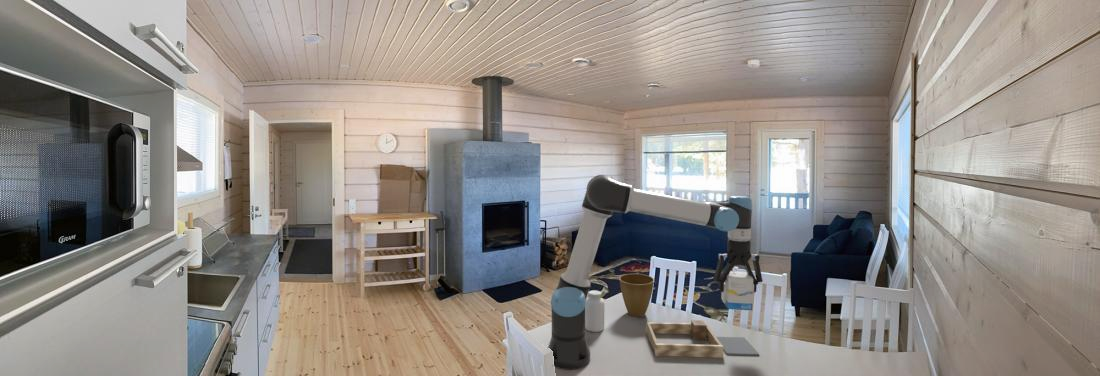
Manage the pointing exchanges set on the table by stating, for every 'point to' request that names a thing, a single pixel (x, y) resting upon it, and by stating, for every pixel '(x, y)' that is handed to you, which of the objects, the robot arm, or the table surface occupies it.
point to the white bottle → (594, 312)
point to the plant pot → (636, 293)
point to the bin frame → (682, 349)
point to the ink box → (739, 291)
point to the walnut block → (698, 330)
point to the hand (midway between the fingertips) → (737, 300)
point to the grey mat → (737, 346)
